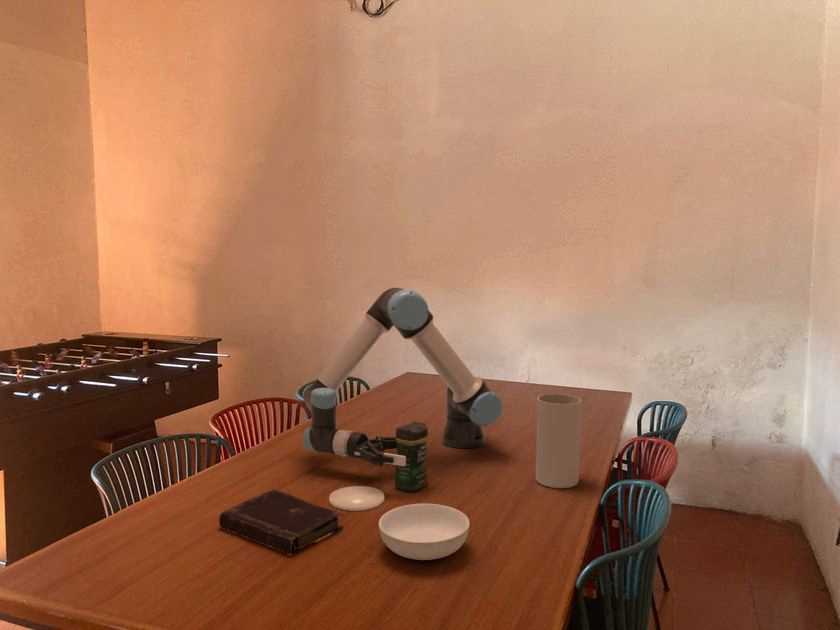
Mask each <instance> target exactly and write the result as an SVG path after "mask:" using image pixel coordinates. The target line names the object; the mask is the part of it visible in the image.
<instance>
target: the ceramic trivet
mask: <svg viewBox="0 0 840 630" xmlns="http://www.w3.org/2000/svg"><path fill="white" fill-rule="evenodd" d="M328 500H329V501H328V502H329V504H330V506H332V507H334V508H335V509H337V508H338V510H341V509H342V511H346V510H348V512H361V511H368V510H371V509H375V508H377V507H379V506H381V505H382V504H383V503H384V502H385V494H384V492H383V491H381V490H380V489H378V488H375V487H372V486H364V485H354V486H347V487H346V486H344V487H341V488H339V489H337V490H334V491H332V492H331V493H330V495H329V497H328Z"/></svg>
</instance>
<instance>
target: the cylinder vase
mask: <svg viewBox="0 0 840 630" xmlns="http://www.w3.org/2000/svg"><path fill="white" fill-rule="evenodd" d="M536 407H537V408H536V409H537V410H536V439H535V441H536V443H535V445H536V447H535V449H536V450H535V480H536V482H537V483H539V484H540V485H542V486H544V487H548V488H552V489H570V488H573V487H576V486H577V485H578V483H579V482H580V481H579V479H580V478H579V477H580V451H581V449H580V448H581V447H580V446H581V422H582V421H581V419H582V398H580V397H578V396H576V395H575V396H574V395H572V394H571V395H570V394H566V393H565V394H564V393H563V394H562V393H548V394H541V395H538V396H537V406H536Z"/></svg>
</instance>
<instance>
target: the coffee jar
mask: <svg viewBox="0 0 840 630" xmlns="http://www.w3.org/2000/svg"><path fill="white" fill-rule="evenodd" d="M428 429H429V428H428V426H427V425H426V424H425V423H423V422H420V421H412V422H410V423H407V424H404V425H402V426H399V427H397V428H396V430H395V437H396V443H397V448H396V455H401V456H406V466H399V465H395V472H394V473H395V474H394V475H395V476H394V477H395V479H394V487H396V488H397V489H399V490H400V491H403V492H406V491H407V492H408V491H409V492H416V491H418V490H420V489H422V488H423V487H425V486H427V484H428V467H427V443H428V439H429V433H428Z"/></svg>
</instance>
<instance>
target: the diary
mask: <svg viewBox="0 0 840 630" xmlns="http://www.w3.org/2000/svg"><path fill="white" fill-rule="evenodd" d="M342 515H344V513H343V512H339V511H336V510H334V509H330V508H327V507H325V506H321V505H317V504H314V503H311V502H308V501H306V500H304V499H301V498H299V497H297V496H295V495H292V494H289V493H285V492H283V491H280V490H276V489H272V490H269V491H266V492H263V493H261V494H258V495H257V496H254V497H252V498H250V499H247V500H245V501H243V502H241V503H238V504H237V505H234V506H232V507H231V508H229V509H227V510H223V511H222V512H220V516H219V519H218V521H219V527H220V528H221V527H222V528H225V529H228V530H230V531H233V532H236V533H238V534H240V535H239V536H241V535H243V536H246V537H248V538H250V539H253V540H256V541H258V542H261V543H264V544H266V545H269V546H272V547H274V548H277V549H279V550H281V551H283V552H285V553H288V554H293V555H294V553H293V552H294V551H292V550H296V551H297V549H296V548H295V547H297V548H300V547H302V546H304V545H306V544H308V543H310V542H312V541H315V540H317V539H318V538H321V537H323V536H325V535H327V534H328V533H331V532H332V533H333V535H334V533H335V534H336V532H337V533H338V531H339V532H340V531H341V530H343V528H344V525H341V526H339V518H338V517H340V516H342ZM222 528H221V529H222ZM225 529H224V530H225ZM228 530H227V531H228ZM230 531H229V532H230ZM333 531H334V532H333ZM233 532H232V533H233ZM236 533H235V534H236ZM238 534H237V535H238ZM243 536H242V537H243ZM248 538H247V539H248ZM250 539H249V540H250ZM253 540H252V541H253ZM283 552H282V553H283ZM285 553H284V554H285Z"/></svg>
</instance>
